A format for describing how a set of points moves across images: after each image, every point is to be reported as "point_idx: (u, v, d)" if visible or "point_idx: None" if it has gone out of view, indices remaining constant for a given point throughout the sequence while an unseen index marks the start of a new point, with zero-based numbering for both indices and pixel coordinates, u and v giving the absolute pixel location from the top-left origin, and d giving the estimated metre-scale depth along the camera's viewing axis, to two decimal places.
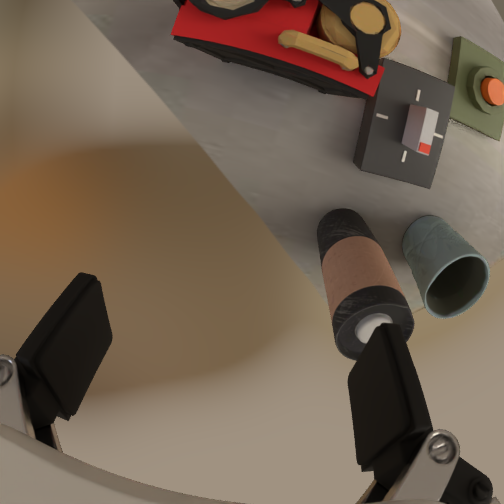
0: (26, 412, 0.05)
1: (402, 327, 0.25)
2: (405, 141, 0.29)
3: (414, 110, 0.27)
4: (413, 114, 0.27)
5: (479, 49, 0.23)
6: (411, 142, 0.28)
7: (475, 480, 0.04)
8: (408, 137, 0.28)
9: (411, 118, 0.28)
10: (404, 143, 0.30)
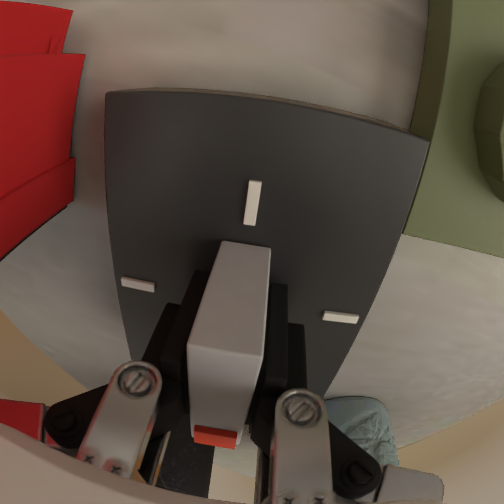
0: (147, 436, 0.05)
1: None
2: None
3: None
4: None
5: None
6: None
7: (357, 460, 0.05)
8: None
9: None
10: None
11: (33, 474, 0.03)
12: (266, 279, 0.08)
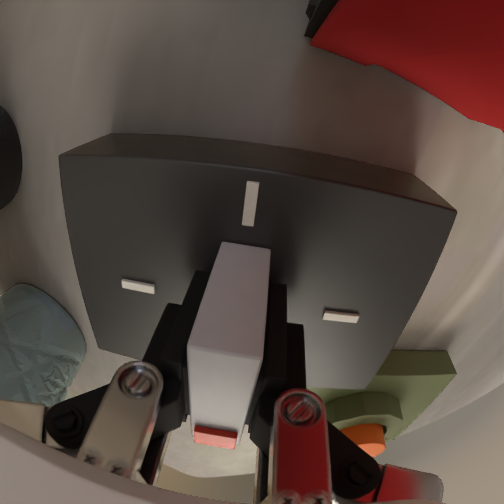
0: (147, 436, 0.05)
1: None
2: None
3: None
4: None
5: (428, 400, 0.17)
6: None
7: (356, 460, 0.05)
8: None
9: None
10: None
11: (33, 474, 0.03)
12: (266, 280, 0.08)
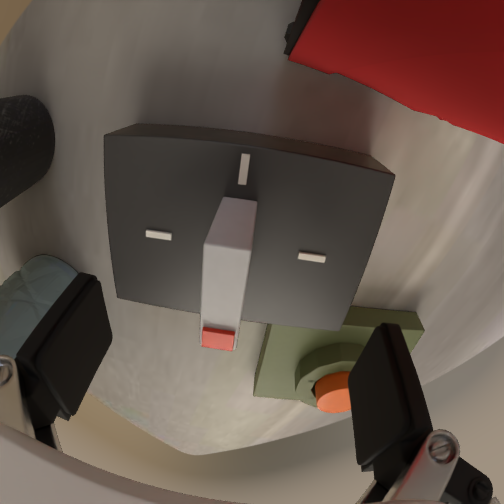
0: (26, 412, 0.05)
1: None
2: None
3: None
4: None
5: None
6: None
7: (475, 480, 0.04)
8: None
9: None
10: None
11: (33, 474, 0.03)
12: (253, 216, 0.12)
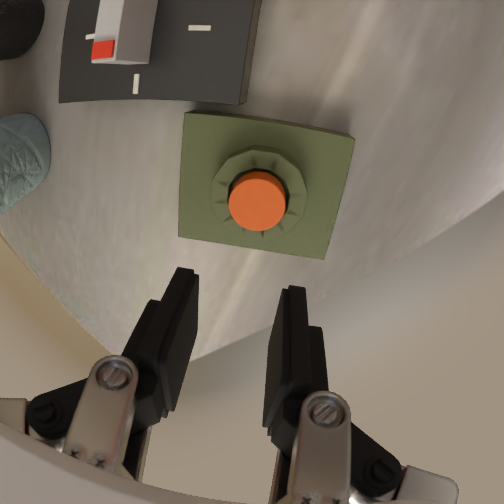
0: (128, 428, 0.05)
1: None
2: None
3: None
4: None
5: (338, 179, 0.21)
6: None
7: (378, 459, 0.05)
8: None
9: None
10: None
11: (33, 474, 0.03)
12: None
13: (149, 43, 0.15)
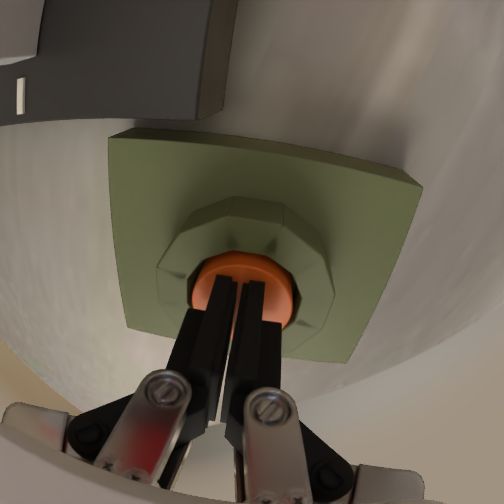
0: (171, 447, 0.05)
1: None
2: None
3: None
4: None
5: (386, 256, 0.11)
6: None
7: (328, 463, 0.05)
8: None
9: None
10: None
11: (33, 474, 0.03)
12: None
13: (35, 20, 0.05)
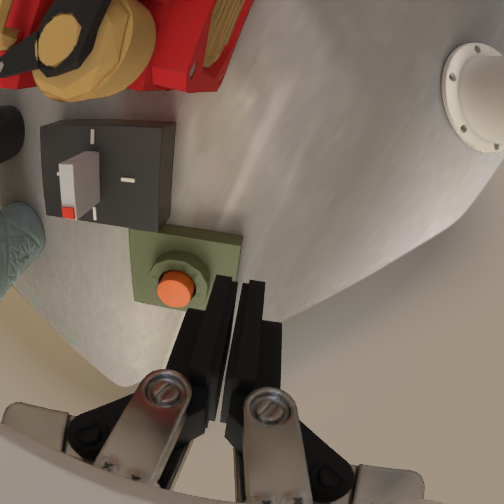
0: (171, 447, 0.05)
1: None
2: None
3: None
4: None
5: (231, 271, 0.32)
6: None
7: (328, 463, 0.05)
8: None
9: None
10: None
11: (33, 474, 0.03)
12: (89, 156, 0.23)
13: (98, 189, 0.26)
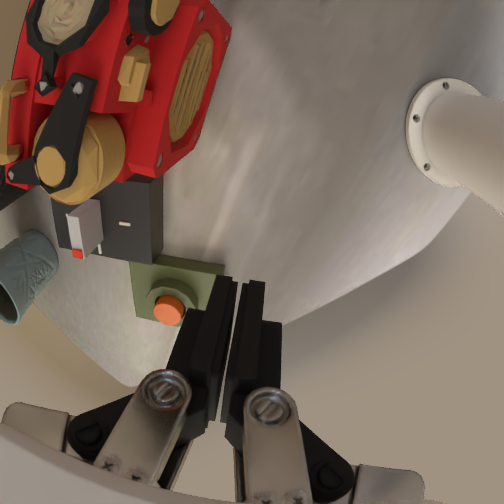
0: (171, 447, 0.05)
1: None
2: None
3: None
4: None
5: None
6: None
7: (328, 463, 0.05)
8: None
9: None
10: None
11: (33, 474, 0.03)
12: (91, 206, 0.28)
13: (101, 230, 0.31)
